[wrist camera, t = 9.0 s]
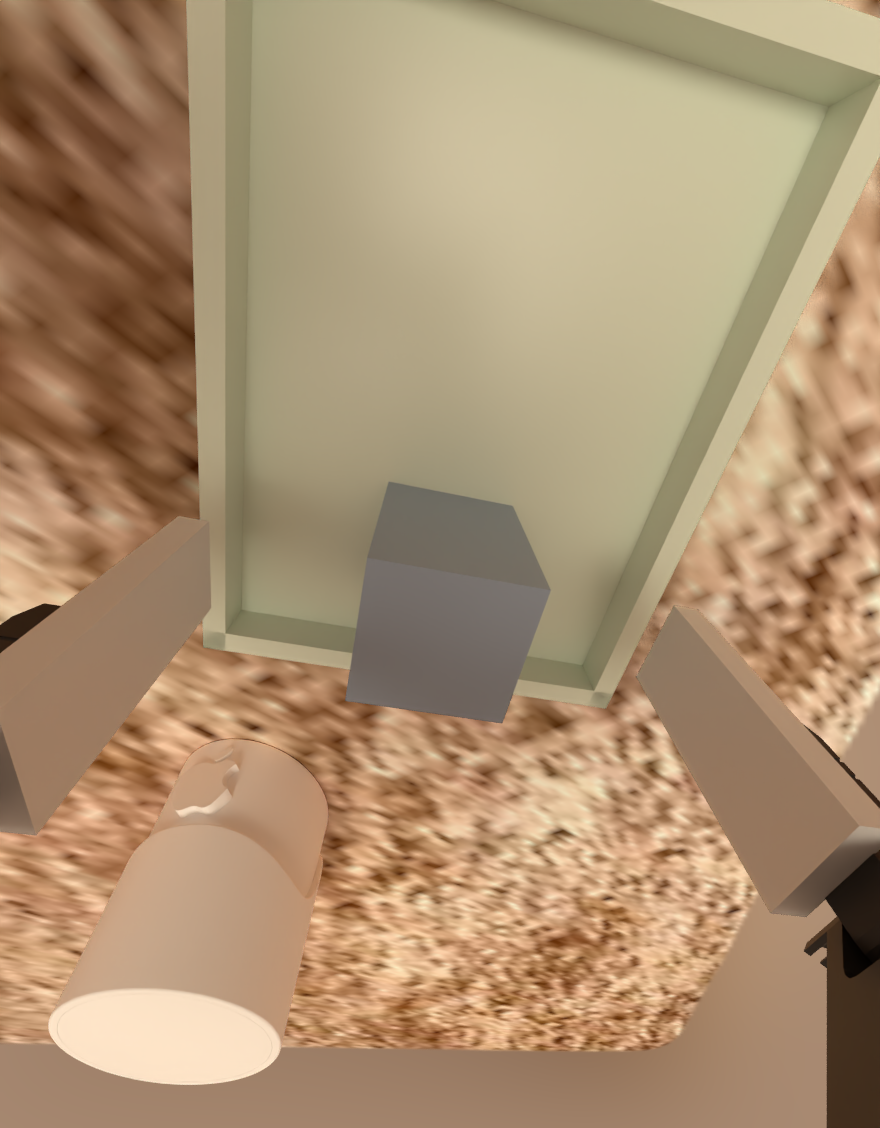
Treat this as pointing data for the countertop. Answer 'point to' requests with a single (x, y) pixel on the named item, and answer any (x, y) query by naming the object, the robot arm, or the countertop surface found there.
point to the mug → (203, 926)
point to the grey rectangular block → (445, 606)
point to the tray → (500, 284)
